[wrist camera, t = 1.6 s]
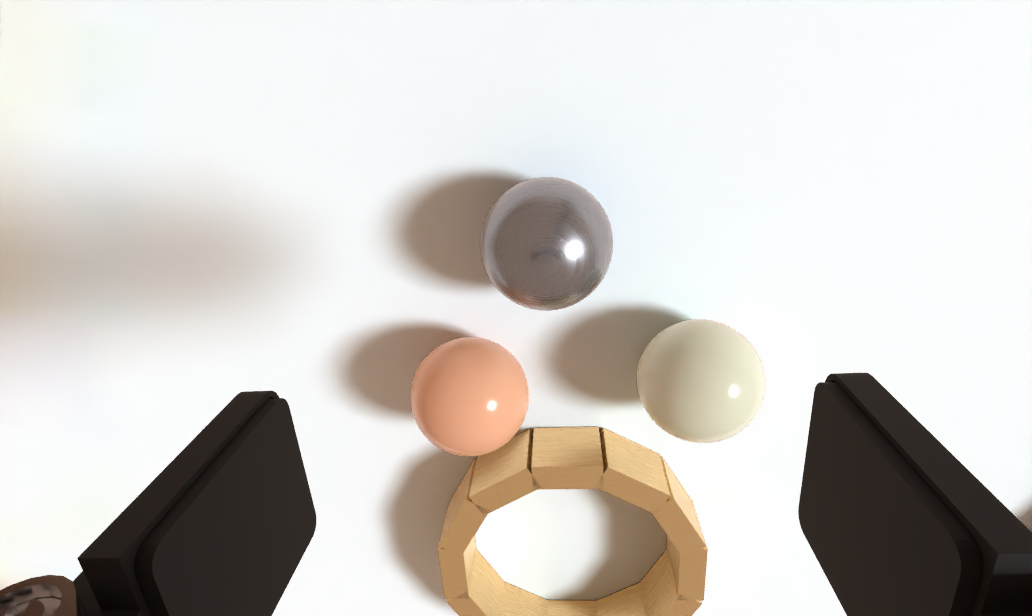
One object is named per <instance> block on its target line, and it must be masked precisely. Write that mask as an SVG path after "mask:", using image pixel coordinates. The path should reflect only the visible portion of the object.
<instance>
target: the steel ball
mask: <svg viewBox="0 0 1032 616" xmlns="http://www.w3.org/2000/svg"><path fill="white" fill-rule="evenodd" d="M480 251H481V257H482V261H483V264H484V268H485V270H486V272H487V275H488V277H489V278H490V280H491V281H492V283H493V284H494V285H495V287H496V288H497V289H498V290H499V291H500V292H501V293H502V294H503V295H504V296H506V297H507V298H508V299H510V300H511V301H513V302H515V303H517V304H519V305H521V306H524V307H526V308H530V309H535V310H546V311H549V310H558V309H562V308H566V307H569V306H572V305H574V304H576V303H578V302H579V301H581V300H583V299H584V298H586V297H587V296H588V295H589V294H590V293H592V292H593V291H594V290H595V289H596V287H597V286H598V285H599V284H600V282H601V281H602V279H603V278H604V276H605V274H606V272H607V270H608V267H609V264H610V262H611V257H612V251H613V237H612V230H611V225H610V222H609V220H608V217H607V215H606V213H605V211H604V209H603V208H602V206H601V205H600V204H599V202H598V201H597V200H596V199H595V198H594V196H593V195H592V194H590V193H589V192H588V191H587V190H585V189H584V188H582V187H581V186H579V185H577V184H575V183H573V182H571V181H568V180H564V179H560V178H554V177H541V178H534V179H530V180H526V181H523V182H521V183H518V184H517V185H515V186H513V187H511V188H510V189H508V190H507V191H506V192H504V193H503V194H502V195H501V196H500V197H499V198H498V199H497V200H496V202H495V203H494V204H493V206H492V207H491V208H490V210H489V212H488V214H487V216H486V218H485V221H484V223H483V227H482V231H481V239H480Z"/></svg>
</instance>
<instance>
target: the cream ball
mask: <svg viewBox="0 0 1032 616" xmlns="http://www.w3.org/2000/svg"><path fill="white" fill-rule="evenodd" d="M765 385H766V379H765V372H764V368H763V364H762V361H761V359H760V357H759V355H758V353H757V351H756V350H755V348H754V347H753V345H752V344H751V343H750V342H749V341H748V340H747V339H746V338H745V337H744V336H743V335H742V334H740V333H739V332H738V331H736V330H735V329H733V328H731V327H730V326H727V325H725V324H723V323H719V322H716V321H712V320H705V319H694V320H687V321H682V322H679V323H676V324H673V325H671V326H669V327H667V328H666V329H664V330H662V331H661V332H660V333H659V334H657V335H656V336H655V337H654V338H653V339H652V340H651V341H650V343H649V344H648V345H647V347H646V349H645V350H644V352H643V354H642V356H641V359H640V361H639V366H638V371H637V387H638V392H639V396H640V399H641V402H642V404H643V406H644V408H645V410H646V412H647V413H648V415H649V416H650V417H651V419H652V420H653V421H654V422H655V423H656V424H657V425H658V426H659V427H660V428H662V429H663V430H664V431H666V432H667V433H669V434H671V435H673V436H675V437H677V438H679V439H682V440H685V441H689V442H695V443H713V442H718V441H722V440H725V439H728V438H730V437H732V436H734V435H736V434H738V433H739V432H741V431H742V430H743V429H745V428H746V427H747V426H748V425H749V424H750V423H751V421H752V420H753V419H754V418H755V416H756V415H757V414H758V412H759V410H760V408H761V405H762V402H763V399H764V395H765Z"/></svg>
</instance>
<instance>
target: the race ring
mask: <svg viewBox="0 0 1032 616" xmlns="http://www.w3.org/2000/svg"><path fill="white" fill-rule="evenodd" d="M537 489H600V490H602V491H605V492H607V493H609V494H611V495H613V496H616V497H618V498H620V499H622V500H624V501H627V502H629V503H631V504H633V505H635V506H638V507H640V508H642V509H644V510H646V511H649V512H651V513H652V514H653V515H654V517H655V518H656V520H657V521H658V523H659V524H660V525H661V527H662V528H663V530H664V531H665V532H666V534H667V549H666V551H665V552H664V553H663V554H662V556H661V557H660V558H659V559H658V561H657V562H656V563H655V564H654V566H653V567H652V568H651V569H650V571H649V572H648V573H647V574H646V576H645V577H644V578H643V579H642V581H641V582H640V583H638V584H635V585H633V586H630V587H628V588H626V589H623V590H621V591H618V592H616V593H614V594H611V595H609V596H607V597H604V598H602V599H599V600H597V601H578V600H546V599H544V598H541V597H539V596H537V595H534V594H532V593H530V592H527V591H525V590H522V589H520V588H518V587H515V586H513V585H511V584H508V583H506V582H504V581H503V580H502V578H501V577H500V576H499V575H498V574H497V573H496V571H495V570H494V569H493V568H492V567H491V566H490V564H489V563H488V562H487V561H486V560H485V558H484V557H483V556H482V555H481V554H480V553H479V551H478V550H477V549H476V541H475V533H476V532H477V530H478V529H479V527H480V525H481V524H482V522H483V521H484V519H485V517H486V516H487V514H488V513H490V512H492V511H494V510H496V509H498V508H500V507H502V506H504V505H506V504H508V503H510V502H512V501H515V500H517V499H519V498H521V497H523V496H525V495H527V494H529V493H531V492H533V491H535V490H537ZM438 555H439V562H440V568H441V575H442V582H443V589H444V596H445V598H447V601H446V602H447V603H448V604H449V605H450V606H451V607H452V608H453V609H454V611H455V612H456V613H457V614H458V615H459V616H692V615H693V613H694V612H695V611H696V610H697V609H698V608H699V607H700V605H701V604H702V602H701V600H704V588H705V575H706V562H707V547H706V543H705V540H704V537H703V534H702V530H701V527H700V524H699V521H698V518H697V514H696V511H695V508H694V505H693V502H692V500H691V498H690V497H689V495H688V494H687V492H686V491H685V490H684V488H683V487H682V485H681V484H680V482H679V481H678V479H677V478H676V476H675V475H674V473H673V472H672V470H671V469H670V467H669V466H668V464H667V463H666V461H665V460H664V458H663V457H661V458H660V455H659V454H658V453H656V452H654V451H652V450H649V449H647V448H645V447H643V446H641V445H639V444H637V443H635V442H632V441H630V440H628V439H626V438H624V437H622V436H620V435H618V434H615V433H613V432H611V431H609V430H607V429H605V428H603V429H602V430H601V432H600V433H599V427H557V428H534V433H532V431H531V430H530V429H528V430H527V431H525V432H523V433H521V434H519V435H517V436H515V437H513V438H512V439H511V440H510V441H509V442H507V443H506V444H505V445H503V446H502V447H500V448H499V449H497V450H495V451H493V452H491V453H487V454H484V455H479V456H477V460H476V459H474V461H473V462H472V464H471V466H470V467H469V469H468V471H467V473H466V474H465V476H464V478H463V480H462V481H461V483H460V485H459V486H458V488H457V490H456V492H455V493H454V495H453V497H452V499H451V500H450V502H449V506H448V510H447V514H446V518H445V522H444V526H443V530H442V534H441V538H440V542H439V547H438Z"/></svg>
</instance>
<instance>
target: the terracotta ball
mask: <svg viewBox="0 0 1032 616" xmlns="http://www.w3.org/2000/svg"><path fill="white" fill-rule="evenodd" d="M528 404H529V388H528V383H527V379H526V376H525V373H524V371H523V369H522V367H521V365H520V364H519V362H518V361H517V360H516V358H515V357H514V356H513V355H512V354H511V353H510V352H509V351H508V350H507V349H505V348H504V347H502V346H501V345H499V344H497V343H495V342H493V341H490V340H487V339H483V338H477V337H463V338H458V339H454V340H451V341H448V342H446V343H444V344H442V345H440V346H438V347H437V348H436V349H434V350H433V351H432V352H431V353H430V354H429V355H428V356H426V358H425V359H424V360H423V361H422V363H421V364H420V366H419V368H418V369H417V371H416V374H415V376H414V379H413V383H412V387H411V407H412V412H413V416H414V419H415V421H416V423H417V425H418V427H419V429H420V430H421V432H422V433H423V435H424V436H425V437H426V438H427V439H428V440H429V441H430V442H431V443H433V444H434V445H435V446H437V447H438V448H440V449H441V450H443V451H445V452H448V453H451V454H454V455H458V456H469V457H470V456H479V455H484V454H487V453H491V452H493V451H495V450H497V449H499V448H500V447H502V446H503V445H505V444H506V443H507V442H509V441H510V440H511V439H512V438H513V436H514V435H515V434H516V433H517V432H518V430H519V429H520V427H521V425H522V423H523V421H524V419H525V416H526V413H527V409H528Z"/></svg>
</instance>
